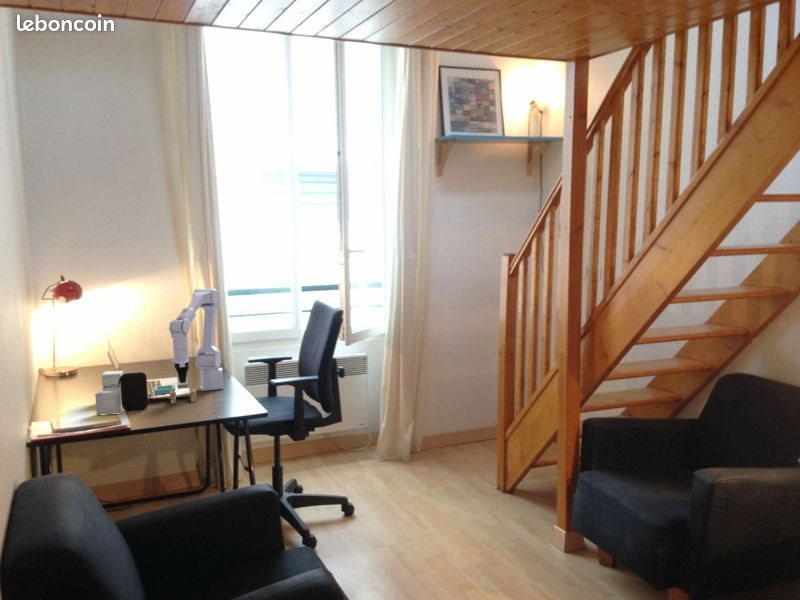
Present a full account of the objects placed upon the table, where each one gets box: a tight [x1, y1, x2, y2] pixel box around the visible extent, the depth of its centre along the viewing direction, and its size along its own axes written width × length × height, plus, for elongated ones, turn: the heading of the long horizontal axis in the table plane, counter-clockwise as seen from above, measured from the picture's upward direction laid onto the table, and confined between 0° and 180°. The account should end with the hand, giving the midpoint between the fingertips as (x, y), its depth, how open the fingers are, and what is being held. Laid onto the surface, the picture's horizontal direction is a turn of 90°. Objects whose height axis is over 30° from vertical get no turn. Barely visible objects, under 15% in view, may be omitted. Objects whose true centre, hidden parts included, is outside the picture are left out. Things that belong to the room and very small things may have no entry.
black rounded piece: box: [118, 371, 149, 411], centre depth 286 cm, size 11×3×15 cm, turn 106°
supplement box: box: [101, 370, 124, 405], centre depth 299 cm, size 7×7×13 cm
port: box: [153, 384, 176, 396], centre depth 310 cm, size 12×12×4 cm
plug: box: [176, 372, 189, 390], centre depth 299 cm, size 4×4×8 cm
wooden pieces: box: [170, 388, 198, 404], centre depth 300 cm, size 10×6×4 cm, turn 109°
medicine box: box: [94, 390, 122, 416], centre depth 280 cm, size 8×4×9 cm, turn 92°
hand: (182, 381), depth 299 cm, fingers closed on plug, 4 cm apart
